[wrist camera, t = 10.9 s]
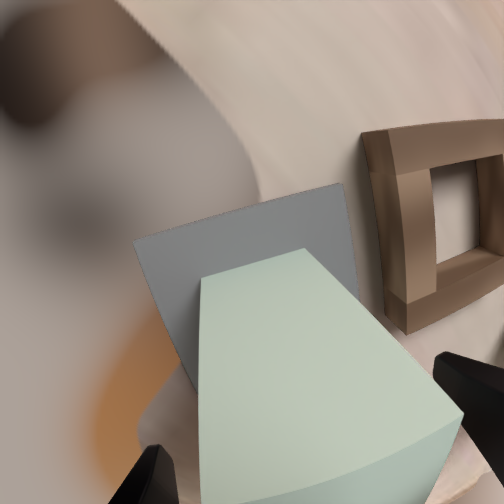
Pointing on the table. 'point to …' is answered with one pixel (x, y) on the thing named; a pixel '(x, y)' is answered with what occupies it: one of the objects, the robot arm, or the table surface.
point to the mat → (241, 254)
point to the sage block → (311, 394)
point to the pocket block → (423, 221)
